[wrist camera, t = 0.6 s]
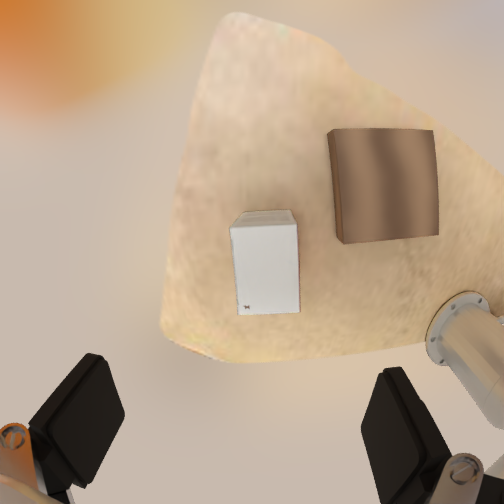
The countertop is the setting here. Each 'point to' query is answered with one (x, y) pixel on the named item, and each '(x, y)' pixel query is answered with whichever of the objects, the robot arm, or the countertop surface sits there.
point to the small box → (266, 262)
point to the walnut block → (384, 184)
